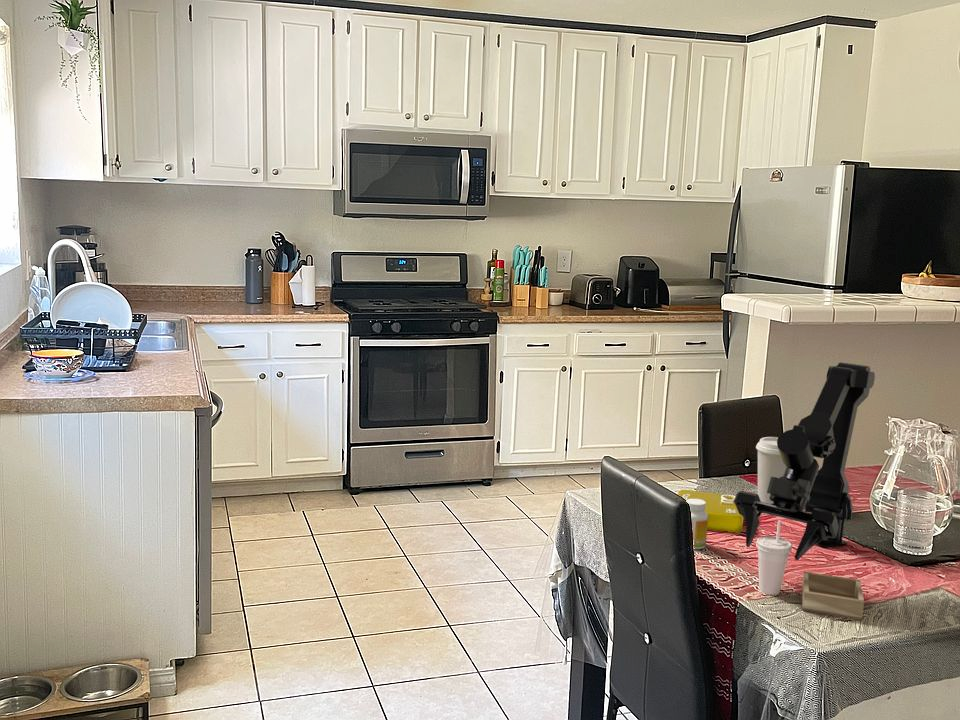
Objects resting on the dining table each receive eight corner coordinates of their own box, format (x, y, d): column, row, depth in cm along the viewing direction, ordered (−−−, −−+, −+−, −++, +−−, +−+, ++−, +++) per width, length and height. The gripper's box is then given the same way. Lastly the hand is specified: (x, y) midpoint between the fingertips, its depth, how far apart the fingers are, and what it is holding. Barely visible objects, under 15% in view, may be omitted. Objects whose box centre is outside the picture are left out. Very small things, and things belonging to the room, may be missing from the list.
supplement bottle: (706, 542, 198) (710, 499, 196) (704, 551, 192) (708, 507, 191) (681, 538, 199) (684, 495, 197) (678, 547, 194) (681, 503, 192)
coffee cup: (796, 499, 228) (802, 440, 225) (786, 509, 220) (792, 449, 217) (757, 491, 233) (762, 433, 230) (746, 501, 225) (751, 442, 222)
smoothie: (789, 600, 171) (796, 528, 168) (753, 595, 172) (760, 524, 170) (785, 585, 177) (792, 516, 174) (750, 581, 178) (757, 512, 176)
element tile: (677, 505, 222) (679, 486, 221) (742, 513, 218) (744, 494, 217) (672, 526, 207) (674, 506, 206) (742, 535, 203) (744, 515, 203)
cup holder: (801, 588, 176) (803, 571, 175) (858, 597, 173) (860, 579, 172) (802, 610, 167) (804, 592, 166) (861, 620, 164) (864, 601, 163)
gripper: (742, 450, 179) (714, 519, 172) (840, 470, 168) (815, 545, 161) (753, 480, 187) (727, 547, 180) (848, 501, 176) (824, 573, 169)
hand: (771, 552), depth 172 cm, fingers open, 9 cm apart
